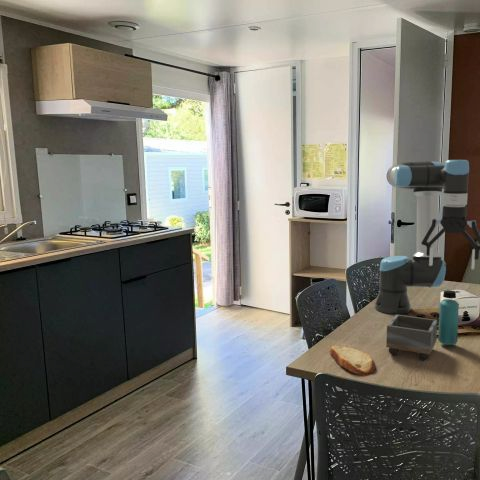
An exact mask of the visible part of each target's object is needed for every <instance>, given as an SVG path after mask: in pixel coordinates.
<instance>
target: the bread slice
mask: <svg viewBox="0 0 480 480" xmlns="http://www.w3.org/2000/svg"><path fill="white" fill-rule="evenodd" d="M328 352H329V354H330V356H331V357H332V358H333V359H335V360H334V361H335V362H336V363H337V364H338V365H339V366H340V367H341V368H343V369H344V370H347V371H349V372H350V373H352V374H354V375H357V374H358V376H363V375H365V376H369V375H372V374H374V372H375V369H376V362H375V361H374V359H373V357H372V355H370V354H369V353H366V352H364V351H361V350H359V349H356V348H353V347H348V346H343V345H332V346H331V347H330V350H329V351H328Z"/></svg>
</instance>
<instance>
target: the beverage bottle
mask: <svg viewBox="0 0 480 480" xmlns="http://www.w3.org/2000/svg"><path fill="white" fill-rule="evenodd" d="M442 297H443V298H444V299H442V300H441V301H440V302H439V315H438V331H437V337H438V338H437V339H438V342H440V343H441V344H443V345H456V344H457V342H458V338H459V337H458V336H459V334H458V333H459V309H460V307H459V306H460V304H459V303H458V301H457V300H455V299H457V293H456V291H455V290H452V289H451V290H450V289H449V290H443V295H442Z"/></svg>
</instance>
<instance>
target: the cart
mask: <svg viewBox="0 0 480 480" xmlns="http://www.w3.org/2000/svg"><path fill="white" fill-rule="evenodd" d="M437 337H438V319H433V318H425V317H418V316H411V315H403V314H394V317H393V318H391V320H390V321H389V323H388V324H387V325H386V340H385V343H386V348H388V353H389V354H390V355H391V356H397V355H398V354H399V352H400V350H401V351H402V350H403V351H407V352H414V353H417V357H418V359H419V360H421V361H423V362H424V361H427V360H428V359H429V357H430V355H431V353H432V352H433V351H432V350H433V349H434V347H435V345H436V343H437V339H438V338H437Z"/></svg>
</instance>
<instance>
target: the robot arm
mask: <svg viewBox="0 0 480 480" xmlns="http://www.w3.org/2000/svg"><path fill="white" fill-rule="evenodd" d="M444 162H445V163H444V164H443V163H442V162H440V161H432V160H431V161H405V162H400V163H396V164H393V165H392V166H390V168H389V169H387V173H386V180H387V182H388V184H390V185H391V186H392V187H394V188H398V189H401V190H402V189H403V190H413V191H412V192H413V194H414V196H416V251H415V253H414V254H413V255H412V259H409V256H405V255H391V256H388V257H385V258H383V259H382V260H381V261H380V265H379V289H378V293H377V297H376V298H375V299H376V300H375V303H374V309H375V310H376V311H377V312H381V313H385V314H392V315H393V314H394V315H396V314H397V315H403V314H407V313H411V302H410V299H409V296H408V288H409V287H410V288H411V287H413V288H415V287H416V288H439V287H441V286H442V284H443V283H444V281H445V276H446V272H447V266H446V265H447V263H446V261H445V260H443V259H442V255H441V254H440V253H439V251H438V249H439V248H438V245H439V240H438V239H439V238H440V237H441V236H442V235H443V234H444V233H445V232H446V233H448V234H452V233H453V234H459V233H460V234H462V236H463V237H464V238H465V239H466V240H467V242H468V243H469V244H470V245H471V246H472V248H473V249H472V251H471V266H470V267H471V270H475V265H476V262H475V261H476V260H477V261H478V260H479V255H480V231H479V229H478V226H477V220H475V219H474V220H467V212H468V211H467V208H468V207H467V205H468V194H469V193H468V189H469V175H470V174H469V173H470V162H469V160H467V159H447V160H446V161H444ZM442 194H443V198H442V204H443V205H444V206H443V207H442V213H441V214H442V215H441V219H439V197H440V196H441V195H442ZM439 224H440V225H441V227H442V229H441V230H440V231H439ZM467 225H468V226H469V228H471V230H472V231H473V234H474V236H475V238H476V240H477V242H478V243H477V242H476V241H475V240H474V239H473V238H472V236H471V234H469V232H468V231H467V229H465V228H466V227H467ZM478 244H479V245H478Z"/></svg>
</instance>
